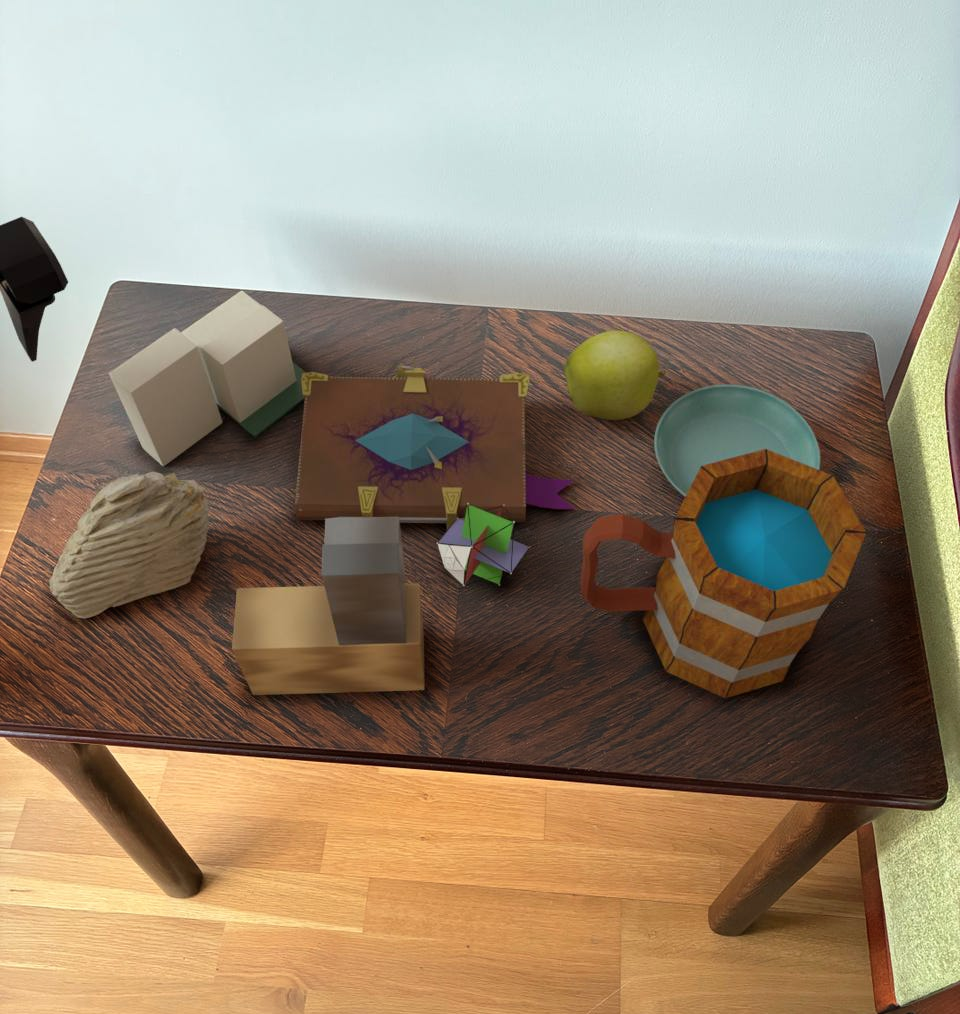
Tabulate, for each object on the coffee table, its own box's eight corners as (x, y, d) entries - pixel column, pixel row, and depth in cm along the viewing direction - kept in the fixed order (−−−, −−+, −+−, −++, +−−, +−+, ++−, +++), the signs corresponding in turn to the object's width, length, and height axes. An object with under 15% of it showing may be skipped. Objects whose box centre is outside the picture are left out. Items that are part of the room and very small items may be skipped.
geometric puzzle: (474, 490, 89) (448, 488, 81) (546, 519, 87) (526, 519, 80) (445, 567, 90) (417, 572, 82) (516, 596, 89) (494, 604, 81)
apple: (668, 428, 95) (684, 369, 88) (573, 446, 94) (582, 387, 87) (642, 366, 98) (656, 303, 91) (551, 382, 97) (558, 320, 90)
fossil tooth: (58, 583, 88) (218, 508, 90) (79, 639, 85) (243, 561, 87) (-11, 508, 78) (171, 425, 80) (9, 569, 75) (198, 481, 77)
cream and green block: (254, 438, 94) (237, 378, 87) (185, 379, 97) (162, 317, 90) (322, 386, 96) (310, 325, 89) (252, 331, 100) (236, 268, 92)
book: (575, 537, 90) (580, 508, 85) (295, 534, 90) (285, 504, 85) (569, 387, 97) (574, 352, 92) (309, 384, 97) (301, 349, 92)
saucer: (828, 529, 90) (837, 512, 87) (662, 537, 89) (667, 521, 87) (793, 399, 96) (801, 379, 94) (639, 405, 96) (643, 386, 94)
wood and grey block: (252, 695, 82) (199, 580, 66) (257, 637, 84) (206, 512, 68) (424, 690, 82) (414, 574, 66) (423, 633, 85) (413, 507, 68)
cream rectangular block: (163, 467, 92) (130, 392, 83) (142, 448, 93) (108, 373, 84) (223, 422, 94) (197, 345, 86) (202, 405, 95) (174, 327, 86)
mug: (799, 561, 88) (858, 455, 75) (809, 704, 82) (876, 616, 69) (572, 545, 89) (591, 436, 75) (565, 685, 83) (584, 594, 69)
